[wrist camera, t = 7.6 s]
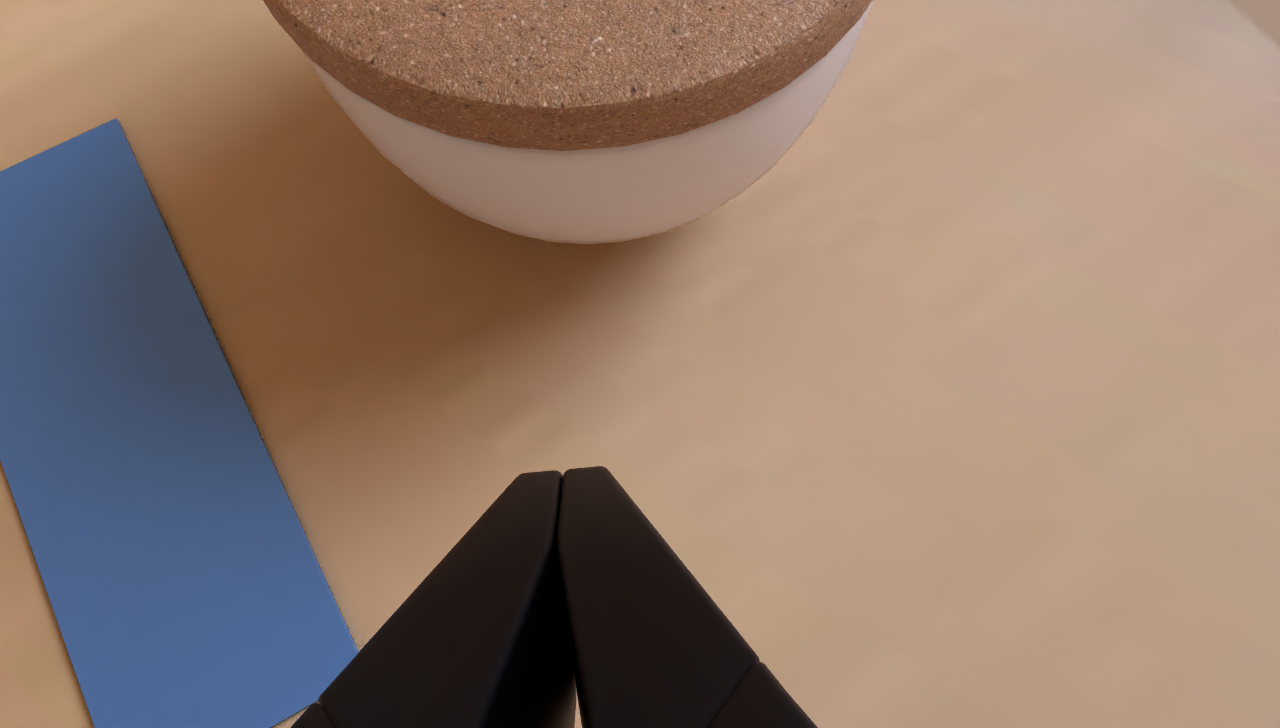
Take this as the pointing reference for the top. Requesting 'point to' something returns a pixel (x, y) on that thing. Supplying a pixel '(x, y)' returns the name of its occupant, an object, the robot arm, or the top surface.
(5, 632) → the top surface
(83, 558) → the tape strip
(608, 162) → the trinket box
